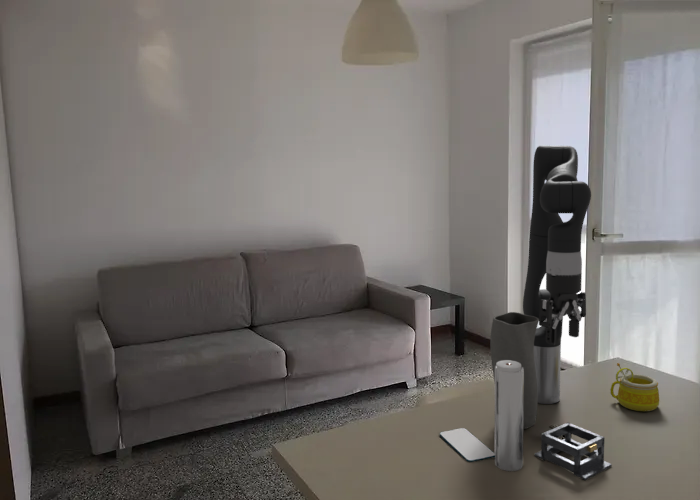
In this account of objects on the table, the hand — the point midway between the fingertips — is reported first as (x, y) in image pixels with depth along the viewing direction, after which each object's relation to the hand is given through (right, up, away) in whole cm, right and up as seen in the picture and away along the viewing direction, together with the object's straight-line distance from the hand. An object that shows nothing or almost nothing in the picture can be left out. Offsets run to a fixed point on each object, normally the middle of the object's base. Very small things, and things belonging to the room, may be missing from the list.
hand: (562, 340), depth 136 cm
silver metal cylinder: (-11, -30, +5) cm, 33 cm away
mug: (+33, -24, +35) cm, 54 cm away
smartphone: (-19, -30, +15) cm, 38 cm away
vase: (-4, -27, +25) cm, 37 cm away
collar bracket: (+4, -30, +5) cm, 30 cm away
